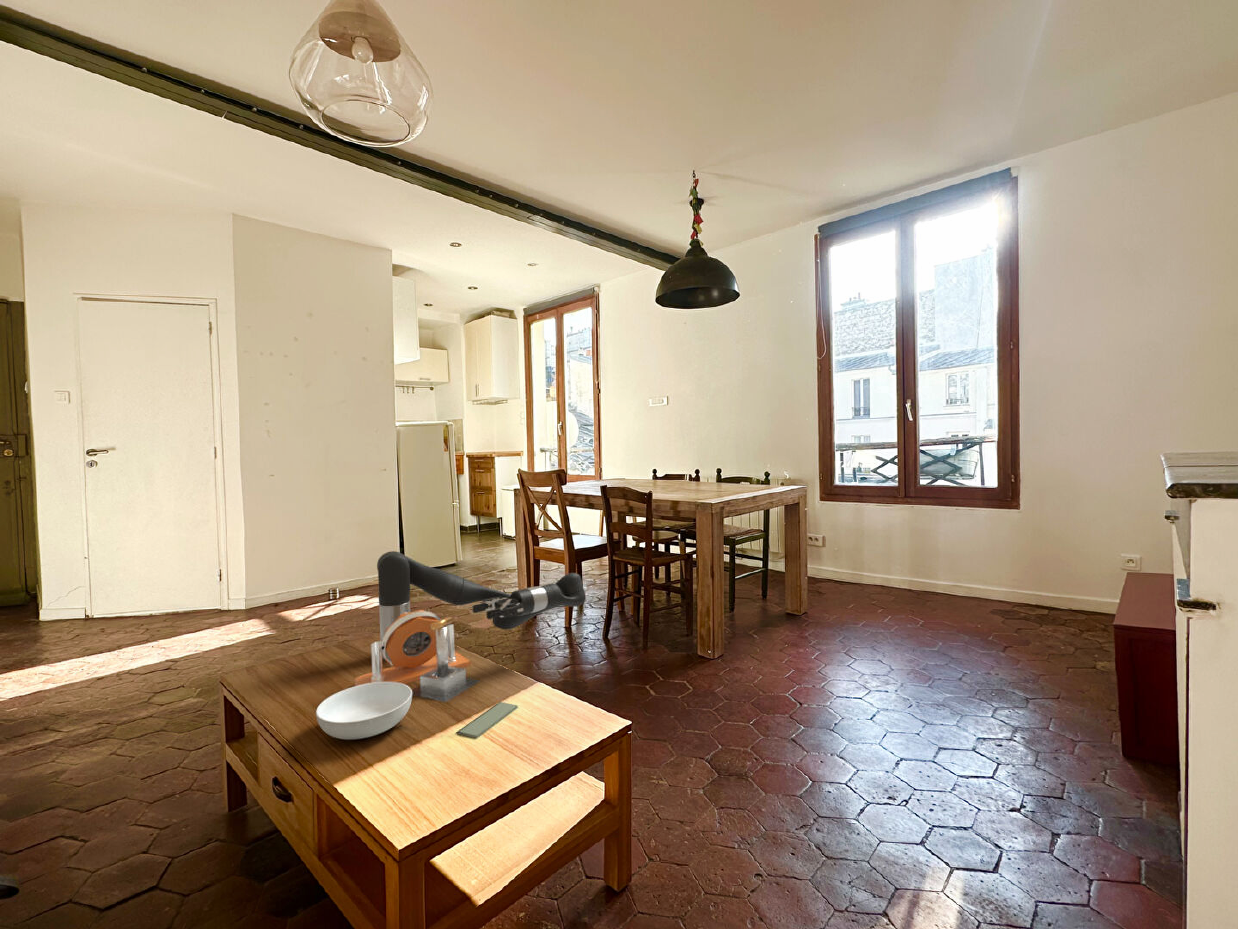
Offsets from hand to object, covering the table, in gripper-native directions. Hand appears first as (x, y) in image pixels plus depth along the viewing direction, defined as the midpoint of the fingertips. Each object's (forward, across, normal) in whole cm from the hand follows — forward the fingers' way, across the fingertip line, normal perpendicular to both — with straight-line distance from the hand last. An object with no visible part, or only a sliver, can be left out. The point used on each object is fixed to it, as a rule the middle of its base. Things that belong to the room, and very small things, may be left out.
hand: (479, 612), depth 161 cm
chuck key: (+12, 0, -18) cm, 22 cm away
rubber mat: (+12, -19, -19) cm, 30 cm away
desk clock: (+14, +16, -20) cm, 29 cm away
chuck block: (+12, 0, -19) cm, 22 cm away
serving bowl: (+34, -6, -19) cm, 39 cm away
